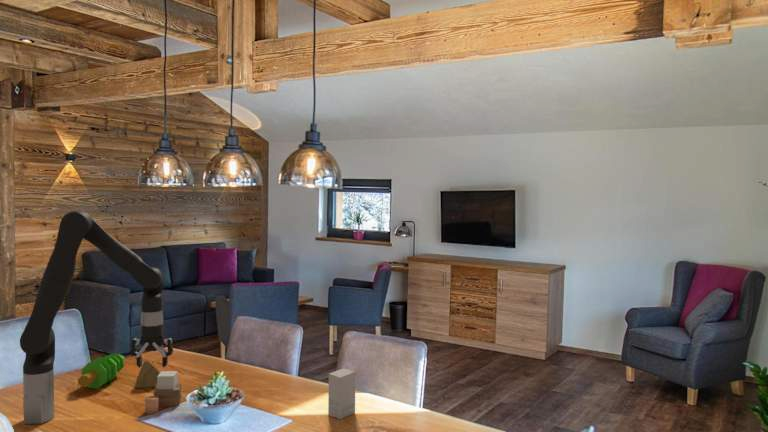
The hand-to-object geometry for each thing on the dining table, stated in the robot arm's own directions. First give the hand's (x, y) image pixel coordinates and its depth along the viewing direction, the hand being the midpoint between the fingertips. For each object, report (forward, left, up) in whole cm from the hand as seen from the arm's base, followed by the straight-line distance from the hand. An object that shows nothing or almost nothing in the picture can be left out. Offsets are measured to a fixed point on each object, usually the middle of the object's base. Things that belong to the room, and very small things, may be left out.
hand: (152, 366), depth 220 cm
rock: (+26, +9, -16) cm, 32 cm away
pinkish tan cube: (-2, 0, -16) cm, 16 cm away
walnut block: (+8, -3, -16) cm, 19 cm away
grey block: (+8, -3, -10) cm, 14 cm away
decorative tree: (+33, +29, -16) cm, 47 cm away
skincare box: (-8, -69, -16) cm, 72 cm away
